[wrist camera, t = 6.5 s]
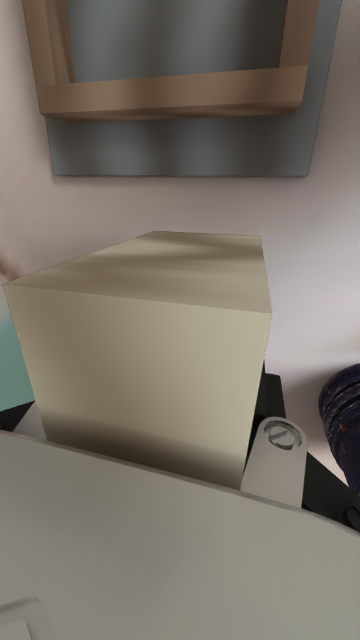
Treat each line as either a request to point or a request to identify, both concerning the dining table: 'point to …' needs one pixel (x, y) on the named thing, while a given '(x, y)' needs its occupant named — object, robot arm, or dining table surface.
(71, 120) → the slot board
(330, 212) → the dining table surface
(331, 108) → the dining table surface
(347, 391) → the storage jar
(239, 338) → the ash block
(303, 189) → the dining table surface
